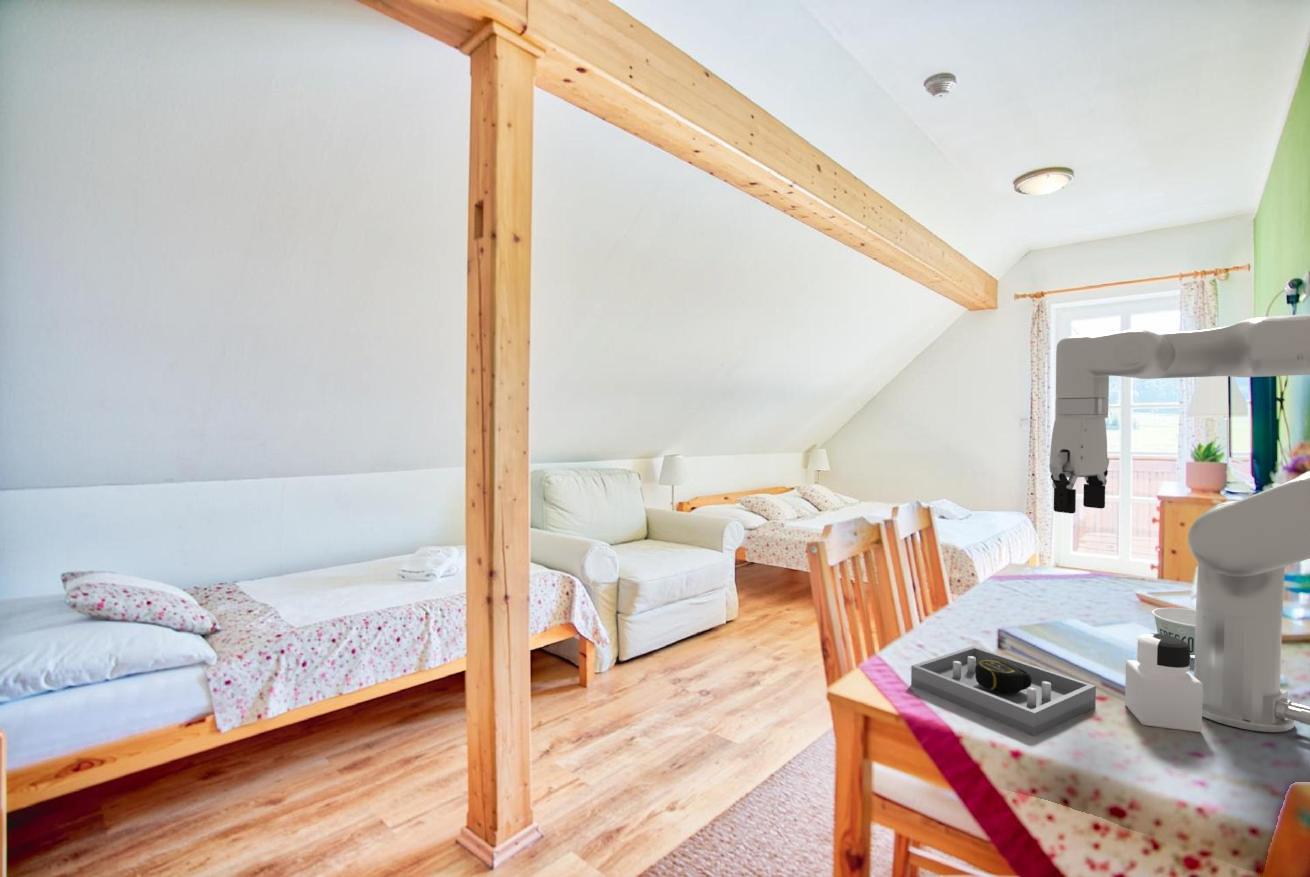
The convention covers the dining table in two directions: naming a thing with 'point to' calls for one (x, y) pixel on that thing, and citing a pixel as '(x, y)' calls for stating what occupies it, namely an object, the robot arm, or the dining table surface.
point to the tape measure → (1001, 676)
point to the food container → (1177, 624)
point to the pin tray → (1023, 710)
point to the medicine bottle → (1163, 684)
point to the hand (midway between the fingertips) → (1079, 509)
